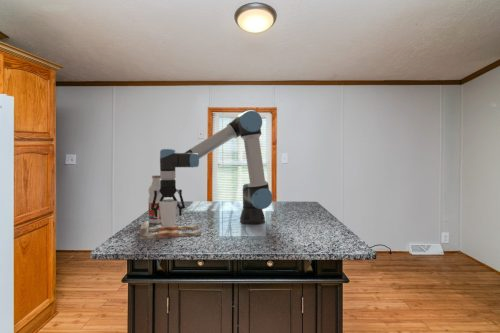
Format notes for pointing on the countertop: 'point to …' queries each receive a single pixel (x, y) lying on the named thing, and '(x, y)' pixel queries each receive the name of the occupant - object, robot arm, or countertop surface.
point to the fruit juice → (153, 187)
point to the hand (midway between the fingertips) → (168, 222)
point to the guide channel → (166, 231)
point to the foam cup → (168, 212)
